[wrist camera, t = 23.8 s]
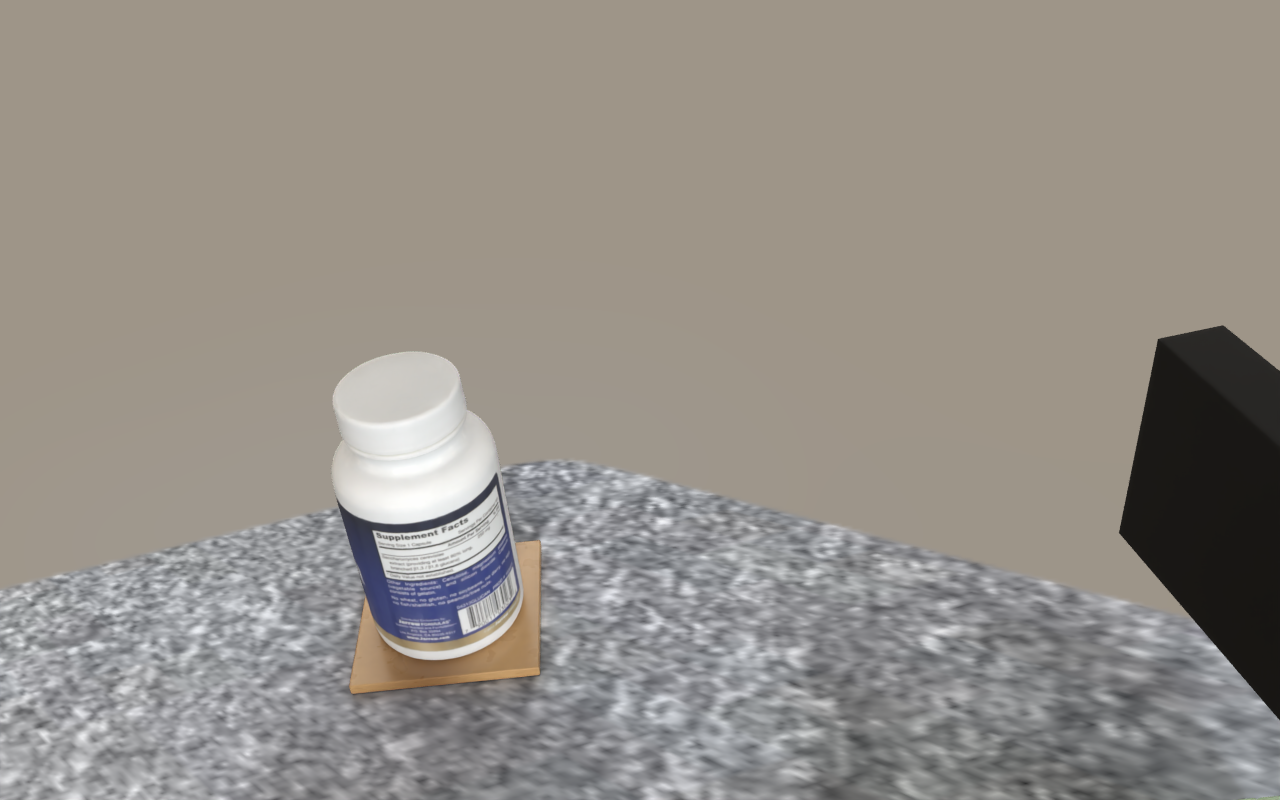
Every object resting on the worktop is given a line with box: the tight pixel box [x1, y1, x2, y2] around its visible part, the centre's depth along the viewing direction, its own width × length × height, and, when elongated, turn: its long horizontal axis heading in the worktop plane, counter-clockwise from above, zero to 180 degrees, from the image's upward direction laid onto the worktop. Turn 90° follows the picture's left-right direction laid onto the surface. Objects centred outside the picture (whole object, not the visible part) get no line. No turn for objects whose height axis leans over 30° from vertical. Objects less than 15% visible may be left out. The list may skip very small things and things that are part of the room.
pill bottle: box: [331, 352, 523, 660], centre depth 40 cm, size 5×5×10 cm
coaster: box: [349, 540, 541, 694], centre depth 43 cm, size 6×6×1 cm
